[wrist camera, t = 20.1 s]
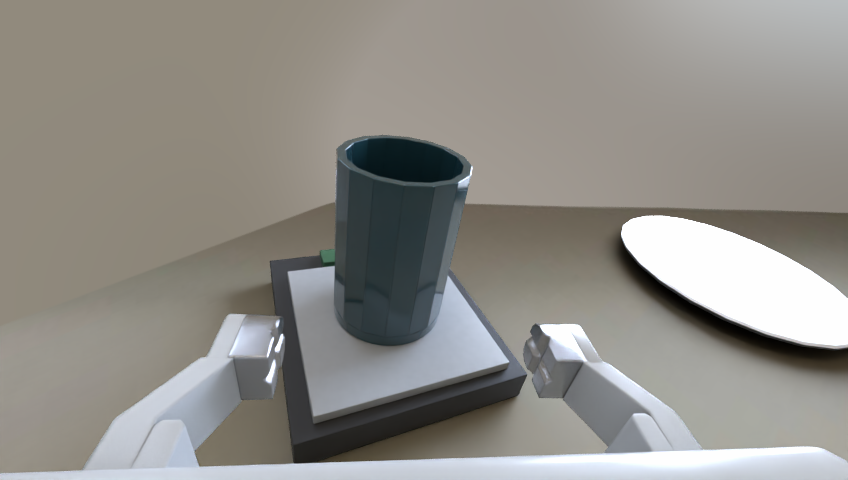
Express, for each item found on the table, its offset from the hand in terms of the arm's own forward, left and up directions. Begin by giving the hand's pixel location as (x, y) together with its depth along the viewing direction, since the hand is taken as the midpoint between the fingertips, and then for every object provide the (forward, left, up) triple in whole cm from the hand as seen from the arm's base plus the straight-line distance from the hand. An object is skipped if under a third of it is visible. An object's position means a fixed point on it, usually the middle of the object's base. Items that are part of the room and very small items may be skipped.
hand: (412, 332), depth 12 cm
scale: (-9, +3, -10) cm, 14 cm away
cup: (-9, +3, -7) cm, 12 cm away
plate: (-7, +39, -10) cm, 41 cm away
